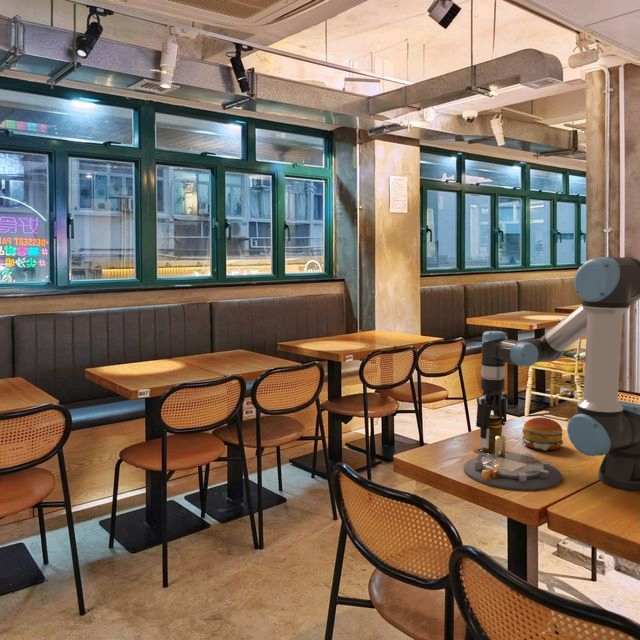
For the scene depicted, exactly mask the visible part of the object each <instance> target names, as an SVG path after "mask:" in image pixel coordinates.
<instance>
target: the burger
mask: <svg viewBox="0 0 640 640" xmlns="http://www.w3.org/2000/svg"><path fill="white" fill-rule="evenodd" d="M521 432H522V433H523V436H522V438H521V439H522V441H521V443H522V444H525V446H527V447H528V448H531V449H533V450H540V451H554V450H558V449H559V448H561V446H562V445H563V444H564V440H563V439H562V438H563V428H562V426H561V425H560V423H559V422H557V421H556V420H554V419H552V418H547V417H535V418H531V419H528V420H527V421H525V423H524V425H523V429H522V431H521Z"/></svg>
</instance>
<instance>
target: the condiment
mask: <svg viewBox="0 0 640 640" xmlns="http://www.w3.org/2000/svg"><path fill="white" fill-rule="evenodd" d="M500 423H501V417H499V416H496V415H494V414H491V415H490V419H489V424H488V428H487V429H489V448H488V449H487V448H483V447H480V448H477V449H472V451H473V452H474V453H475V452H476V453H478V454H485V455H488V454H487V453H489V455H490V454H495V436H497V435H502V433H501V431H502V432H503V425H502V426H501V424H500ZM482 449H483V450H482ZM480 450H482V451H480Z"/></svg>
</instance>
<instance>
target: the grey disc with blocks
mask: <svg viewBox="0 0 640 640" xmlns="http://www.w3.org/2000/svg"><path fill="white" fill-rule="evenodd" d="M506 438H507V437H506V436H505V435H503V434H501V435H497V436H495V454H490V455H485V454H480V453H478V454H477V457H478V461H474V469H475V470H489V477H490V478H494V479H496V478H498V477H501V478H507V479H517V480H518V481H519V482H527V479H534V478H538V477H539V478H542V479H547V478H549V471H547V470H550V468H551V466H552V465H551V462H549V461H541V460H539V459H536V458H534V455H533V454H529V453H526V454H519V453H508V452H507V451H506Z"/></svg>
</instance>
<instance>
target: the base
mask: <svg viewBox="0 0 640 640" xmlns="http://www.w3.org/2000/svg"><path fill="white" fill-rule="evenodd" d="M474 461H478V456H477V457H474V458H473V457H472V458H471V459H469V460H467V461H465V463H464V465H463V471H464V473H465V475H466V476H467V477H469V478H470V479H471V480H474V481H476V482H477V483H480V484H483V485H486V486H489V487H494V488H498V489H502V490H503V489H505V490H513V491H540V490H547V488H548V489H551V488H554V487H556V486H558V485H559V484H560V483H561V482H562V478H563V477H562V473H561V471H560V470H559V469H557V467H555V466H553V465H551V468H550V470H547V471H549V478H547V479H542V478H539V477H538V478H534V479H527V482H519V481H518V480H517V479H507V478H501V477H498V478H496V479H494V478H490V477H489V470H475V469H474ZM560 481H561V482H560ZM557 484H558V485H557Z"/></svg>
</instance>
